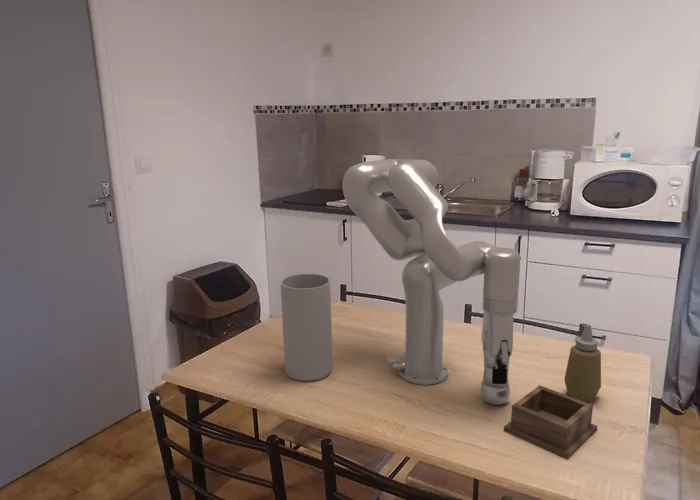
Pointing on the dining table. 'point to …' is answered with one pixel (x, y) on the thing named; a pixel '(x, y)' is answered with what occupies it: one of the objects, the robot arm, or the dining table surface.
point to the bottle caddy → (552, 421)
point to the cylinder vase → (307, 326)
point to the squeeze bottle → (584, 368)
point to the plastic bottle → (490, 391)
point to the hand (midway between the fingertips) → (495, 376)
